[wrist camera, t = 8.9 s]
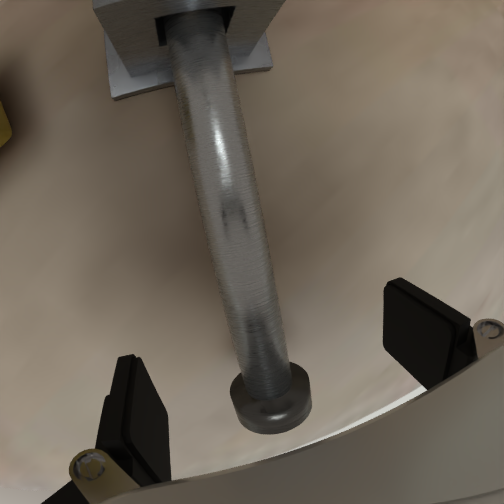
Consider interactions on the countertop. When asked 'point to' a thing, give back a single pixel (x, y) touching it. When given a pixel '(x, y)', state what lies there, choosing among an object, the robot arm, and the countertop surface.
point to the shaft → (234, 223)
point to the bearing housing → (155, 44)
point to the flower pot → (4, 127)
